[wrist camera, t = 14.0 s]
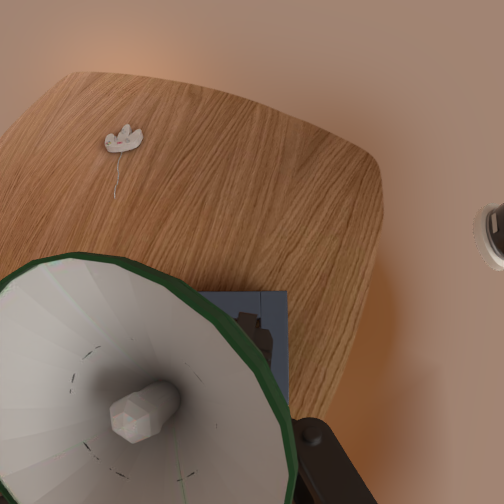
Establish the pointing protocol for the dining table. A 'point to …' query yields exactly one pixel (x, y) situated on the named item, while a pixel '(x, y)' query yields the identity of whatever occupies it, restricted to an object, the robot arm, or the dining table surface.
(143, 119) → the dining table surface
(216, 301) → the hollow square frame
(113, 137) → the game controller
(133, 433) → the flashlight
